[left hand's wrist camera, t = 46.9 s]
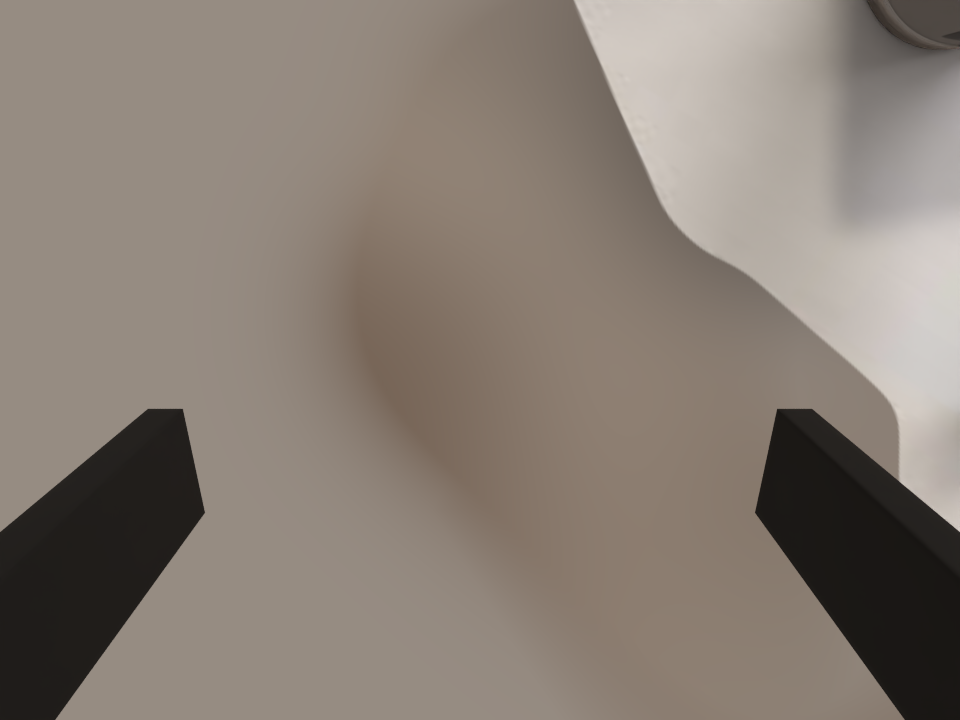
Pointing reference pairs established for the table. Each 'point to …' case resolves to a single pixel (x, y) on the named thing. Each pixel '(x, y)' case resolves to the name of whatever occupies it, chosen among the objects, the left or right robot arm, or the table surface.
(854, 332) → the table surface
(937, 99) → the table surface
